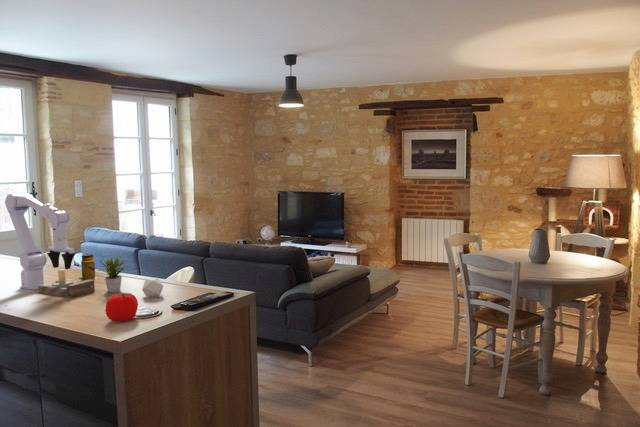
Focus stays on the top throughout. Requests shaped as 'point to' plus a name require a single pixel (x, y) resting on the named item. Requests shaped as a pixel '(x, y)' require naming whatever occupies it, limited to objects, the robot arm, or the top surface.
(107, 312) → the tomato
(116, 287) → the house plant
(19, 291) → the top surface
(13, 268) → the top surface
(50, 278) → the top surface
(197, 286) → the top surface
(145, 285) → the die
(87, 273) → the condiment
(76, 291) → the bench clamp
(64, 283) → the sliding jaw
